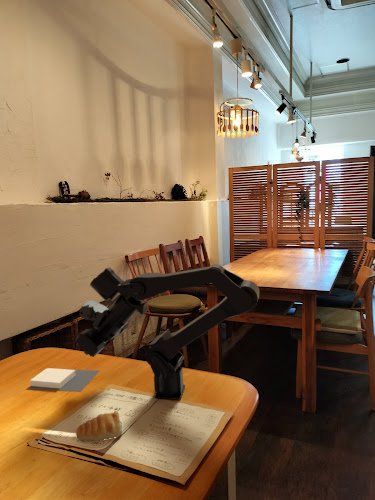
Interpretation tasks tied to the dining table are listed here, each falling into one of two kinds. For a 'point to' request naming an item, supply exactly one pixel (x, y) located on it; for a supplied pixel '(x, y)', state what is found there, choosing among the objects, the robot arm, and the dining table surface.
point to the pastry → (100, 428)
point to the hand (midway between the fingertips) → (85, 353)
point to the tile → (53, 378)
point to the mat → (74, 381)
